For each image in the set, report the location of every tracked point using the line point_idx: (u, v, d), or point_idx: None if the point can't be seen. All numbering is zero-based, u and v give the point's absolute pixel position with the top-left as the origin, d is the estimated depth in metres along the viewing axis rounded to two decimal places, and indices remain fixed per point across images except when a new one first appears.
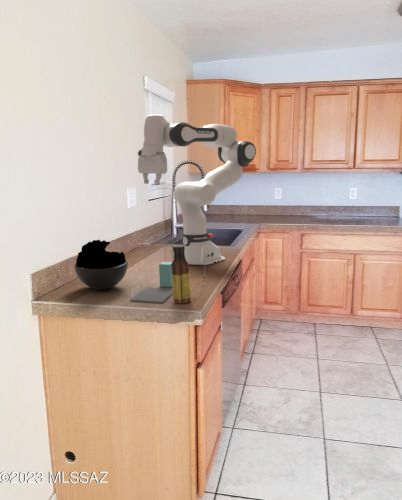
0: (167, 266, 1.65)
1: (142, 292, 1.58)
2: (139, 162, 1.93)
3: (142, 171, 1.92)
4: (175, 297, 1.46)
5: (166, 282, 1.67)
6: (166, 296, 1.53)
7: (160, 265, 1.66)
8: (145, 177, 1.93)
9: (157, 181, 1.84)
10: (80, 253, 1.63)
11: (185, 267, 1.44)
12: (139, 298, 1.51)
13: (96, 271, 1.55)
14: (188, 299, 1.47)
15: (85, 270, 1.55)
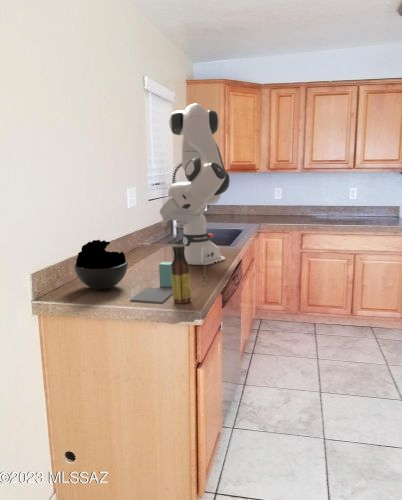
0: (167, 266, 1.65)
1: (142, 292, 1.58)
2: (173, 211, 1.53)
3: (171, 219, 1.57)
4: (175, 297, 1.46)
5: (166, 282, 1.67)
6: (166, 296, 1.53)
7: (160, 265, 1.66)
8: None
9: None
10: (80, 253, 1.63)
11: (185, 267, 1.44)
12: (139, 298, 1.51)
13: (96, 271, 1.55)
14: (188, 299, 1.47)
15: (85, 270, 1.55)
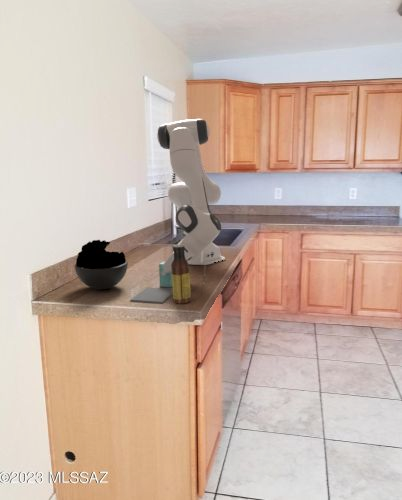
0: None
1: (142, 292, 1.58)
2: None
3: None
4: (175, 297, 1.46)
5: (166, 282, 1.67)
6: (166, 296, 1.53)
7: (160, 265, 1.66)
8: None
9: None
10: (80, 253, 1.63)
11: (185, 267, 1.44)
12: (139, 298, 1.51)
13: (96, 271, 1.55)
14: (188, 299, 1.47)
15: (85, 270, 1.55)
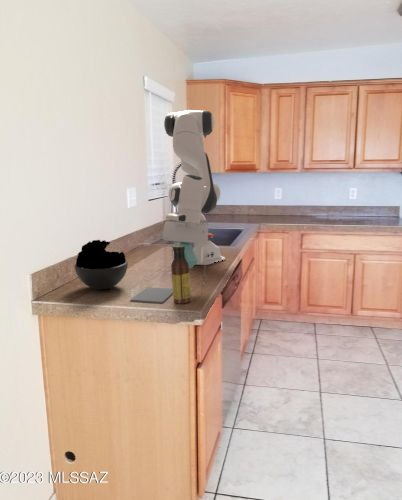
0: None
1: (142, 292, 1.58)
2: (173, 228, 1.54)
3: (177, 239, 1.56)
4: (175, 297, 1.46)
5: None
6: (166, 296, 1.53)
7: None
8: None
9: None
10: (80, 253, 1.63)
11: (185, 267, 1.44)
12: (139, 298, 1.51)
13: (96, 271, 1.55)
14: (188, 299, 1.47)
15: (85, 270, 1.55)
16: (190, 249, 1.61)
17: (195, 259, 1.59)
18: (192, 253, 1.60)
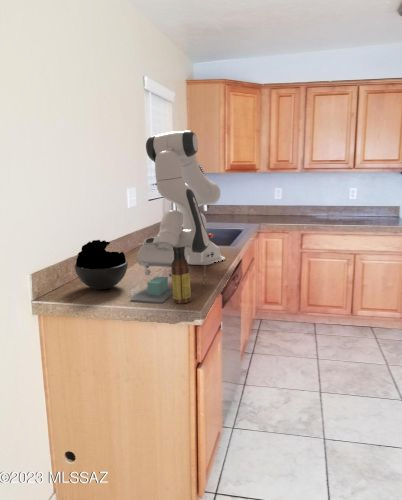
0: None
1: (142, 292, 1.58)
2: (142, 250, 1.64)
3: (146, 260, 1.62)
4: (175, 297, 1.46)
5: None
6: (166, 296, 1.53)
7: None
8: (147, 267, 1.62)
9: None
10: (80, 253, 1.63)
11: (185, 267, 1.44)
12: (139, 298, 1.51)
13: (96, 271, 1.55)
14: (188, 299, 1.47)
15: (85, 270, 1.55)
16: (161, 279, 1.59)
17: (157, 282, 1.54)
18: (160, 280, 1.57)
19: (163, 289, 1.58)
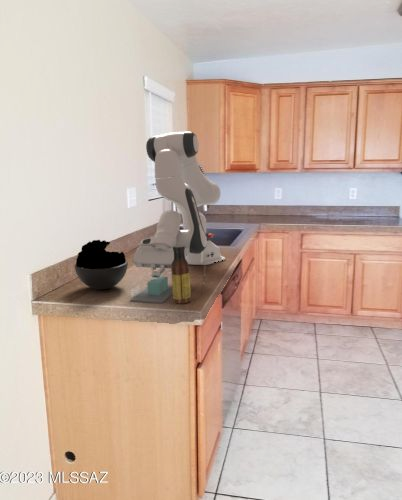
0: None
1: (142, 292, 1.58)
2: (139, 251, 1.61)
3: (143, 261, 1.59)
4: (175, 297, 1.46)
5: None
6: (166, 296, 1.53)
7: None
8: (153, 269, 1.57)
9: (160, 273, 1.56)
10: (80, 253, 1.63)
11: (185, 267, 1.44)
12: (139, 298, 1.51)
13: (96, 271, 1.55)
14: (188, 299, 1.47)
15: (85, 270, 1.55)
16: (161, 279, 1.59)
17: (157, 282, 1.54)
18: (160, 280, 1.57)
19: (163, 289, 1.58)
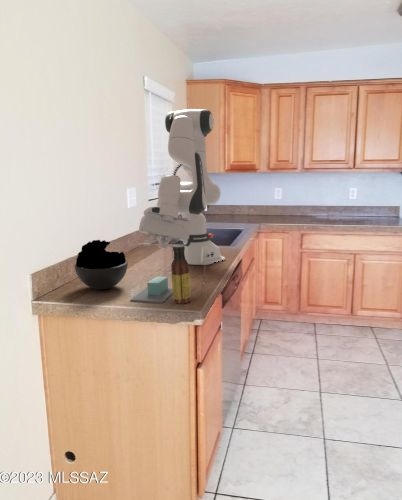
0: None
1: (142, 292, 1.58)
2: (147, 219, 1.62)
3: (152, 231, 1.63)
4: (175, 297, 1.46)
5: None
6: (166, 296, 1.53)
7: None
8: None
9: None
10: (80, 253, 1.63)
11: (185, 267, 1.44)
12: (139, 298, 1.51)
13: (96, 271, 1.55)
14: (188, 299, 1.47)
15: (85, 270, 1.55)
16: (161, 279, 1.59)
17: (157, 282, 1.54)
18: (160, 280, 1.57)
19: (163, 289, 1.58)
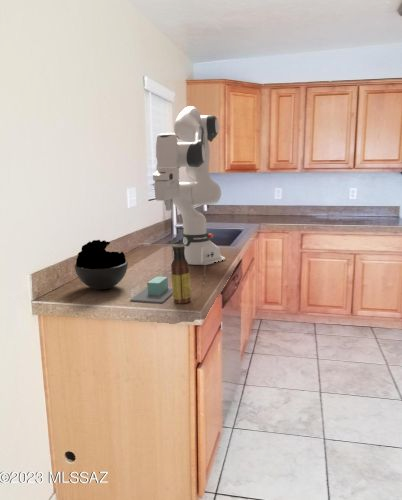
0: None
1: (142, 292, 1.58)
2: (166, 187, 1.60)
3: (168, 197, 1.64)
4: (175, 297, 1.46)
5: None
6: (166, 296, 1.53)
7: None
8: None
9: None
10: (80, 253, 1.63)
11: (185, 267, 1.44)
12: (139, 298, 1.51)
13: (96, 271, 1.55)
14: (188, 299, 1.47)
15: (85, 270, 1.55)
16: (161, 279, 1.59)
17: (157, 282, 1.54)
18: (160, 280, 1.57)
19: (163, 289, 1.58)
